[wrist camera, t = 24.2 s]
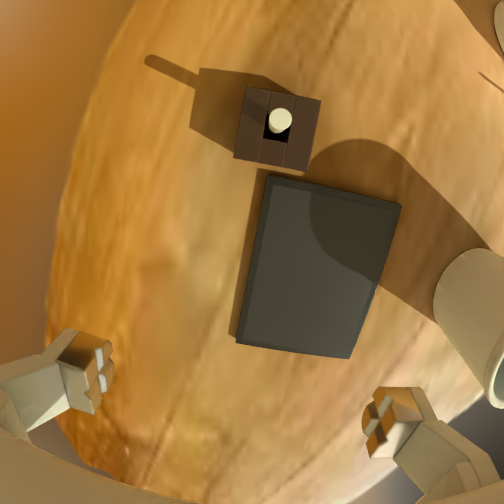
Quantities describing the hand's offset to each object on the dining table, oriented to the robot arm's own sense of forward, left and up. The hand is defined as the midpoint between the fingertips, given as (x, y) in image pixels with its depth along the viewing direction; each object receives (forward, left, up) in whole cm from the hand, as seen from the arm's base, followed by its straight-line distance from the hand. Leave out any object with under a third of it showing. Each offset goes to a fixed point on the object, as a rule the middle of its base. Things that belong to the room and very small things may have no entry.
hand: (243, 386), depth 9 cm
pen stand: (0, -8, -29) cm, 30 cm away
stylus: (0, -8, -29) cm, 30 cm away
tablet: (-8, +8, -29) cm, 31 cm away
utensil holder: (-32, +6, -29) cm, 44 cm away
